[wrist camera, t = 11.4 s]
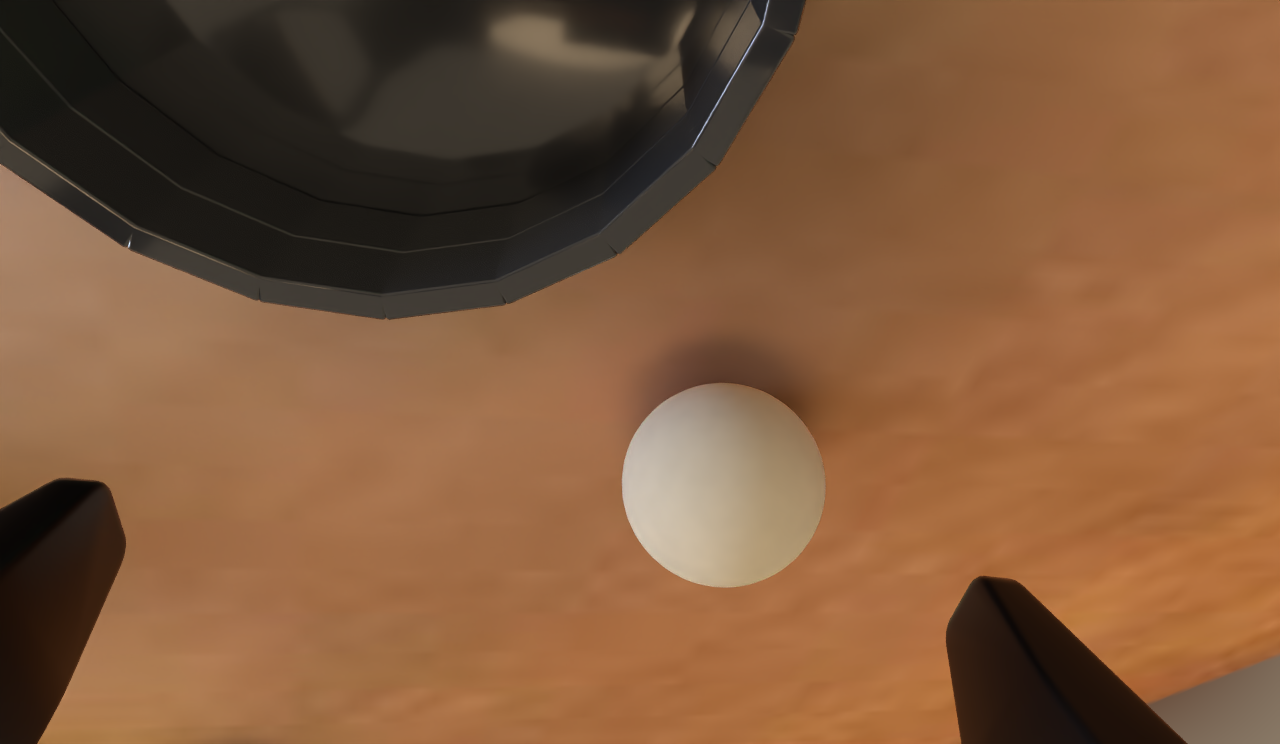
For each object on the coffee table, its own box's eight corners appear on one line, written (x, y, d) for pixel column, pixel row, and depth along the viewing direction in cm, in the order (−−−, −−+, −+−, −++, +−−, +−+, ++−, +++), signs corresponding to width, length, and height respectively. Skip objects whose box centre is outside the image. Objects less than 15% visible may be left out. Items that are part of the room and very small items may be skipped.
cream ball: (780, 497, 24) (806, 641, 20) (611, 475, 24) (603, 618, 19) (831, 358, 21) (875, 494, 17) (640, 330, 21) (639, 464, 17)
